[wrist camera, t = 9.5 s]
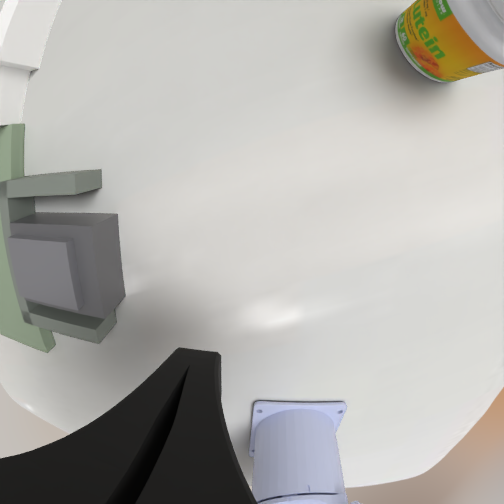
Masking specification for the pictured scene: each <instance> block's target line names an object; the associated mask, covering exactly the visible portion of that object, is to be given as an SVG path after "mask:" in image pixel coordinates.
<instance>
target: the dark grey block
mask: <svg viewBox="0 0 504 504" xmlns="http://www.w3.org/2000/svg"><path fill="white" fill-rule="evenodd" d="M9 224H10V231H11V236H10V237H8V238H7V239H8V245H9V251H10V256H11V261H12V266H13V271H14V275H15V279H16V283H17V287H18V291H19V295H20V296H21V297H24V299H25V300H27V301H30V302H34V303H38V304H42V305H45V306H49V307H53V308H57V309H62V310H66V311H70V312H74V313H79V314H83V315H88V316H93V317H98V318H103V319H106V317H107V316H108V315H109V314H110V313H111V312H112V311H113V309H114V308H115V307H116V306H117V305H118V304H119V303H120V302H121V301H122V299H123V298H124V297H125V288H124V281H123V272H122V263H121V253H120V241H119V227H118V214H105V213H48V212H37V213H34V214H32V215H29V216H26V217H24V218H21V219H18V220H16V221H13V222H11V223H9Z"/></svg>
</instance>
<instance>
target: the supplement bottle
mask: <svg viewBox="0 0 504 504" xmlns="http://www.w3.org/2000/svg"><path fill="white" fill-rule="evenodd" d="M395 34H396V39H397V43H398V45H399V47H400V49H401V51H402V53H403V55H404V56H405V58H406V59H407V60H408V62H409V63H410V64H411V65H412V66H413V67H414V68H415V69H416V70H417V71H419V72H420V73H421V74H423V75H424V76H426V77H427V78H429V79H432V80H434V81H438V82H453V81H457V80H460V79H464V78H467V77H471V76H474V75H478V74H482V73H486V72H490V71H494V70H498V69H502V68H504V0H416V1H415V2H414V3H413V4H412V5H411V6H410V7H408V8H407V9H406V10H405V11H404V12H403V13H402V14H401V15H400V17H399V18H398V20H397V22H396V26H395Z"/></svg>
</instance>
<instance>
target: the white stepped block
mask: <svg viewBox="0 0 504 504" xmlns="http://www.w3.org/2000/svg"><path fill="white" fill-rule="evenodd" d="M61 1H62V0H6V1H5V3H4V5H3V8H2V10H1V12H0V127H4V126H7V125H10V124H21V121H22V114H23V107H24V101H25V96H26V91H27V86H28V81H29V77H30V72H31V71H33V70H36V69H39V68H40V64H41V60H42V57H43V53H44V50H45V46H46V43H47V40H48V36H49V33H50V30H51V27H52V25H53V22H54V19H55V16H56V14H57V11H58V9H59V6H60V4H61Z"/></svg>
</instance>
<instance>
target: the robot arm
mask: <svg viewBox="0 0 504 504" xmlns="http://www.w3.org/2000/svg"><path fill="white" fill-rule="evenodd" d="M259 409H260V410H259ZM346 409H347V404H346V403H345V402H325V403H295V402H268V401H257V402H255V403H254V409H253V419H252V429H251V438H250V448H249V456H250V457H254V467H253V481H252V492H251V490H250V488H249V486H248V484H247V481H246V479H245V477H244V475H243V473H242V470H241V468H240V465H239V463H238V460H237V458H236V455H235V452H234V449H233V446H232V443H231V440H230V437H229V433H228V430H227V426H226V422H225V418H224V414H223V409H222V403H221V355H220V354H219V353H218V352H211V351H202V350H194V349H187V348H178V349H176V350H175V351H174V352H173V353H172V354H171V355H170V357H169V358H168V359H167V360H166V361H165V362H164V363H163V364H162V365H161V366H160V367H159V368H158V369H157V370H156V371H155V372H154V373H153V374H152V375H150V376H149V377H148V378H147V379H146V380H145V381H144V382H143V383H142V384H141V385H140V386H139V387H137V388H136V389H135V390H134V391H133V392H132V393H130V394H129V395H128V396H127V397H125V398H124V399H123V400H122V401H121V402H119V403H118V404H117V405H116V406H114V407H113V408H112V409H110V410H109V411H107V412H106V413H105V414H103V415H102V416H100V417H99V418H97V419H96V420H94V421H93V422H91V423H89V424H88V425H86V426H84V427H82V428H81V429H79V430H77V431H75V432H73V433H72V434H70V435H68V436H66V437H64V438H62V439H60V440H57V441H55V442H53V443H50V444H48V445H45V446H42V447H40V448H37V449H35V450H32V451H29V452H26V453H22V454H19V455H15V456H10V457H5V458H1V459H0V504H348V499H347V494H346V493H345V486H344V480H343V473H342V467H341V461H340V455H339V449H338V444H337V438H336V431H337V429H338V427H339V425H340V423H341V420H342V418H343V416H344V413H345V411H346ZM351 504H361V503H359V501H354V502H351Z"/></svg>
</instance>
